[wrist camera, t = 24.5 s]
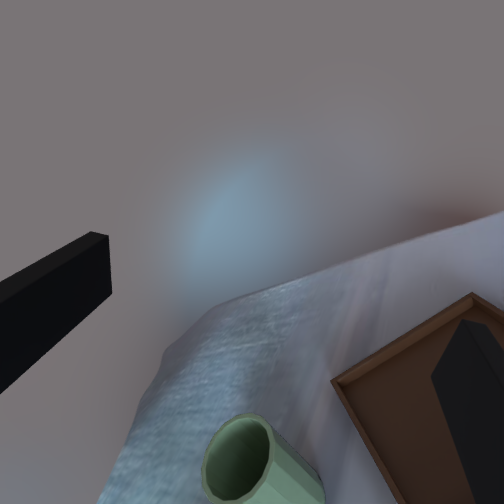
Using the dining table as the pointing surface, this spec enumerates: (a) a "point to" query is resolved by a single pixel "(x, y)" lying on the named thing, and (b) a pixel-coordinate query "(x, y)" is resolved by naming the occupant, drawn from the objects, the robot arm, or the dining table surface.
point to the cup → (256, 466)
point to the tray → (413, 407)
